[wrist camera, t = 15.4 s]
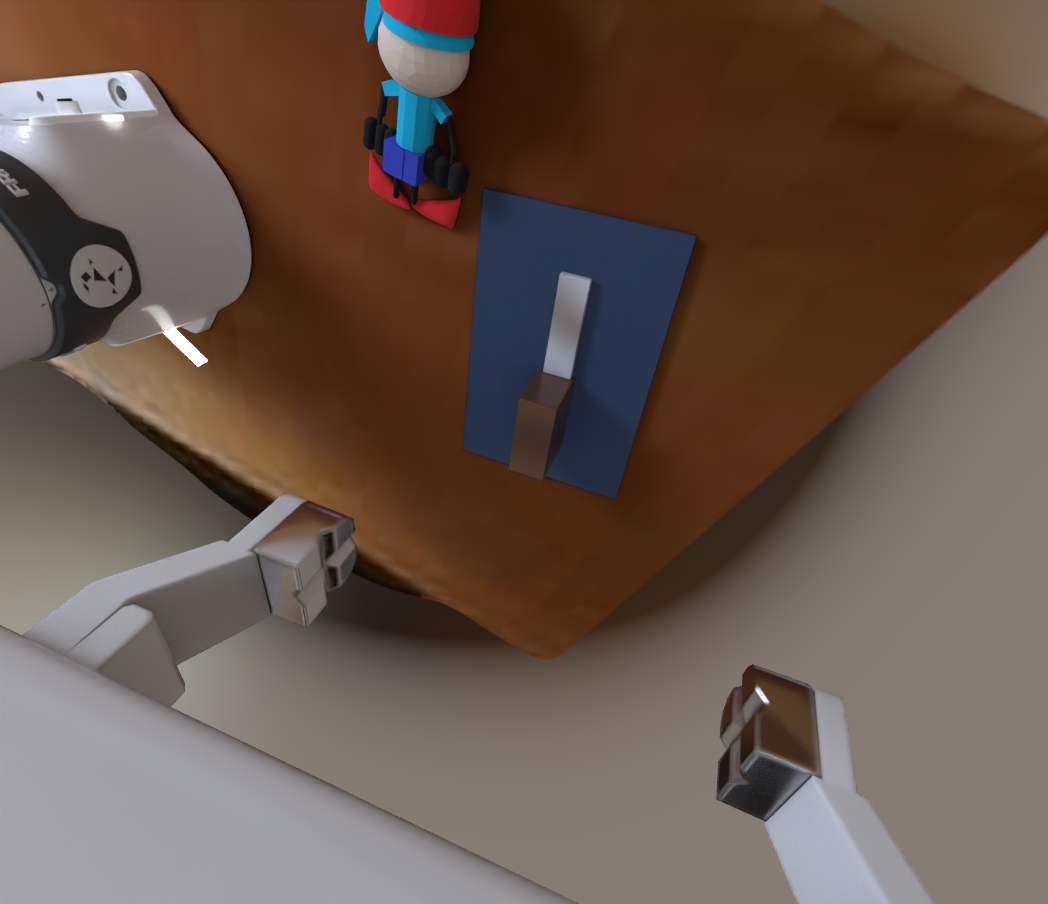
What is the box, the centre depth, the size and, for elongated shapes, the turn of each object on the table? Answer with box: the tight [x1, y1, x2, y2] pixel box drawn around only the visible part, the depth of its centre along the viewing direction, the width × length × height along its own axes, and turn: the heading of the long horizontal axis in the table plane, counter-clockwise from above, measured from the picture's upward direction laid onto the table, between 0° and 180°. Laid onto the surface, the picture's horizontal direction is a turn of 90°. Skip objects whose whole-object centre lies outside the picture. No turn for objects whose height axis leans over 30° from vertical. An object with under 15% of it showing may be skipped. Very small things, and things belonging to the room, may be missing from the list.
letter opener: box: [509, 271, 592, 481], centre depth 36 cm, size 13×3×5 cm, turn 172°
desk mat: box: [463, 188, 697, 499], centre depth 38 cm, size 13×20×1 cm, turn 172°
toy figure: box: [363, 0, 481, 229], centre depth 30 cm, size 8×5×15 cm
